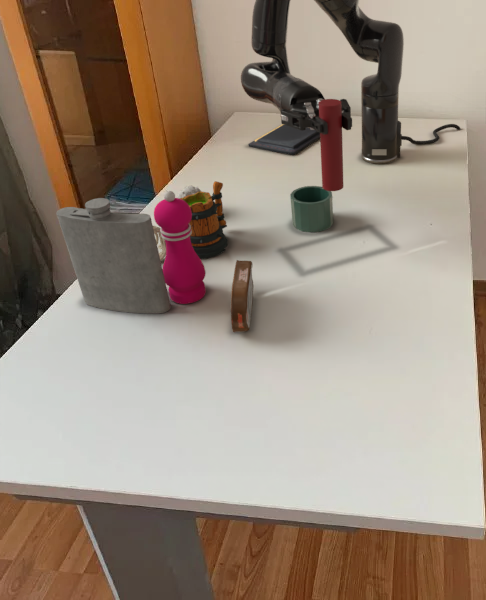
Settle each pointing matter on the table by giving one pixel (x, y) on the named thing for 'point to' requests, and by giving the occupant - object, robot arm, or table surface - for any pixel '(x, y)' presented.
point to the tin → (242, 296)
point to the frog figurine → (188, 191)
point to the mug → (207, 222)
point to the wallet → (286, 140)
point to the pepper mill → (179, 251)
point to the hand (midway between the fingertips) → (337, 126)
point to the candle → (331, 145)
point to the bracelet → (162, 241)
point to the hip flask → (115, 258)
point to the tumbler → (311, 209)
